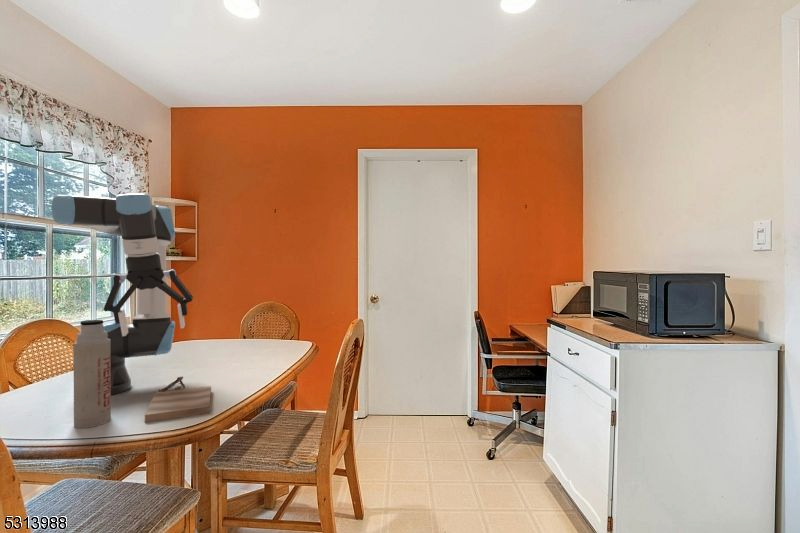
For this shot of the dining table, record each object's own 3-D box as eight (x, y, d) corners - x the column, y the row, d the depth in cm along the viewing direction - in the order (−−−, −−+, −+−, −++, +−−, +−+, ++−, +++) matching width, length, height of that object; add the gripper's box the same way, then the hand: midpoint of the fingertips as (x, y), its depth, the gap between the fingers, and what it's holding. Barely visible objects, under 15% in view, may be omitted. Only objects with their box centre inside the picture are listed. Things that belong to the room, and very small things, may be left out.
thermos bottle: (118, 417, 110) (117, 318, 110) (90, 429, 102) (89, 323, 102) (94, 415, 112) (94, 317, 111) (65, 426, 104) (65, 322, 104)
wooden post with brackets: (188, 385, 136) (183, 375, 134) (166, 401, 130) (160, 390, 128) (186, 384, 137) (180, 374, 135) (163, 400, 131) (157, 389, 129)
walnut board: (155, 398, 125) (155, 392, 125) (210, 391, 132) (210, 386, 132) (144, 422, 107) (144, 415, 107) (209, 413, 114) (209, 406, 114)
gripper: (78, 260, 94) (94, 343, 98) (194, 252, 102) (204, 328, 107) (89, 255, 100) (104, 332, 105) (197, 248, 109) (206, 319, 114)
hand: (154, 330), depth 106 cm, fingers open, 13 cm apart
